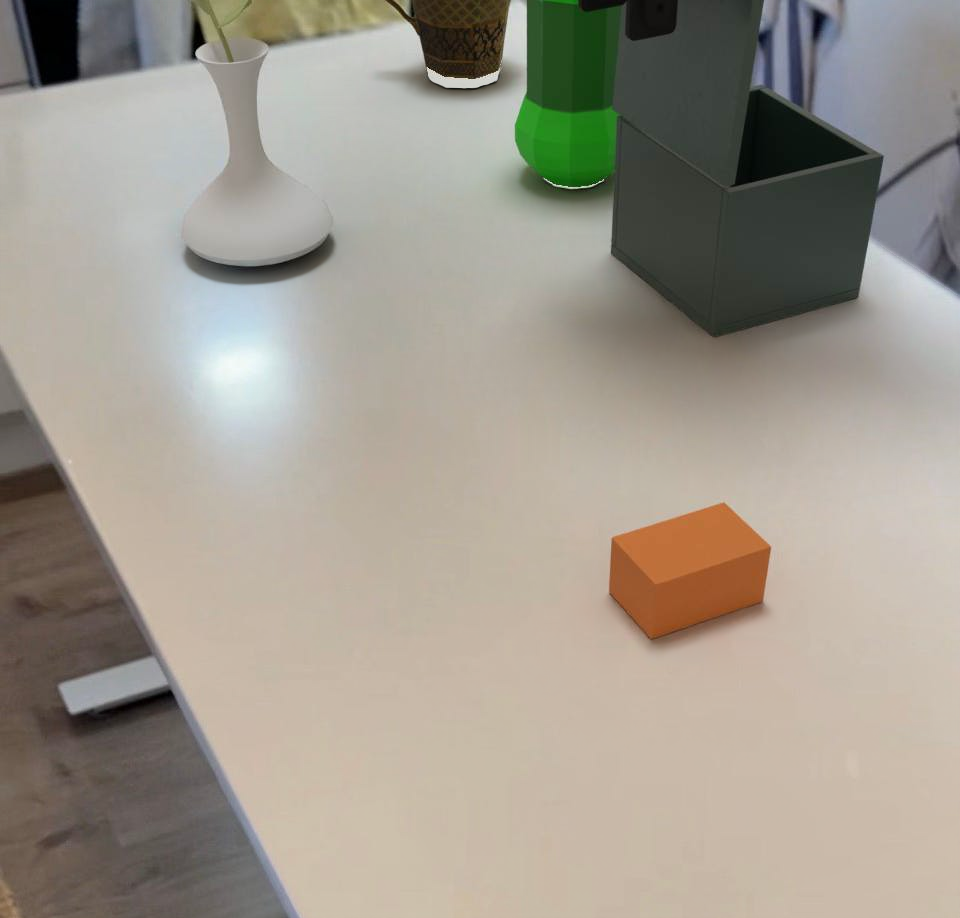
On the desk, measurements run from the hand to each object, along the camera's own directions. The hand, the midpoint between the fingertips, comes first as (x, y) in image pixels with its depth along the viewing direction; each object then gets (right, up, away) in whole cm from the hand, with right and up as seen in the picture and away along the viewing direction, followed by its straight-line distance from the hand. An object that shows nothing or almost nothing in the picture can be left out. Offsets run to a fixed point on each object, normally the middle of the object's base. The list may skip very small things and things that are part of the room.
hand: (626, 17), depth 85 cm
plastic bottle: (-1, +3, +29) cm, 29 cm away
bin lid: (+4, 0, +3) cm, 5 cm away
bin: (+9, -9, +16) cm, 21 cm away
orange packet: (+2, -37, -9) cm, 38 cm away
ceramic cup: (-12, +20, +44) cm, 50 cm away
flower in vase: (-26, -5, +22) cm, 34 cm away
